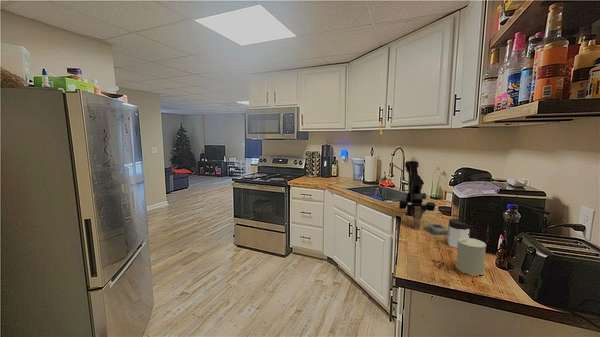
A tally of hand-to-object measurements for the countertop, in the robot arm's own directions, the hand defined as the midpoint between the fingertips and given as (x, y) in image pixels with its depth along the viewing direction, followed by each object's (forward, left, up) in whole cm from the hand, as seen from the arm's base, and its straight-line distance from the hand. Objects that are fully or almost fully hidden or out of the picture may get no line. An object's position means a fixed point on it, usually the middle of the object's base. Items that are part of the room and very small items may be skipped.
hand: (417, 218), depth 140 cm
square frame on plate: (-3, +10, -7) cm, 12 cm away
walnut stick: (-1, 0, -7) cm, 7 cm away
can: (+36, +27, -7) cm, 45 cm away
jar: (+12, +21, -7) cm, 25 cm away
